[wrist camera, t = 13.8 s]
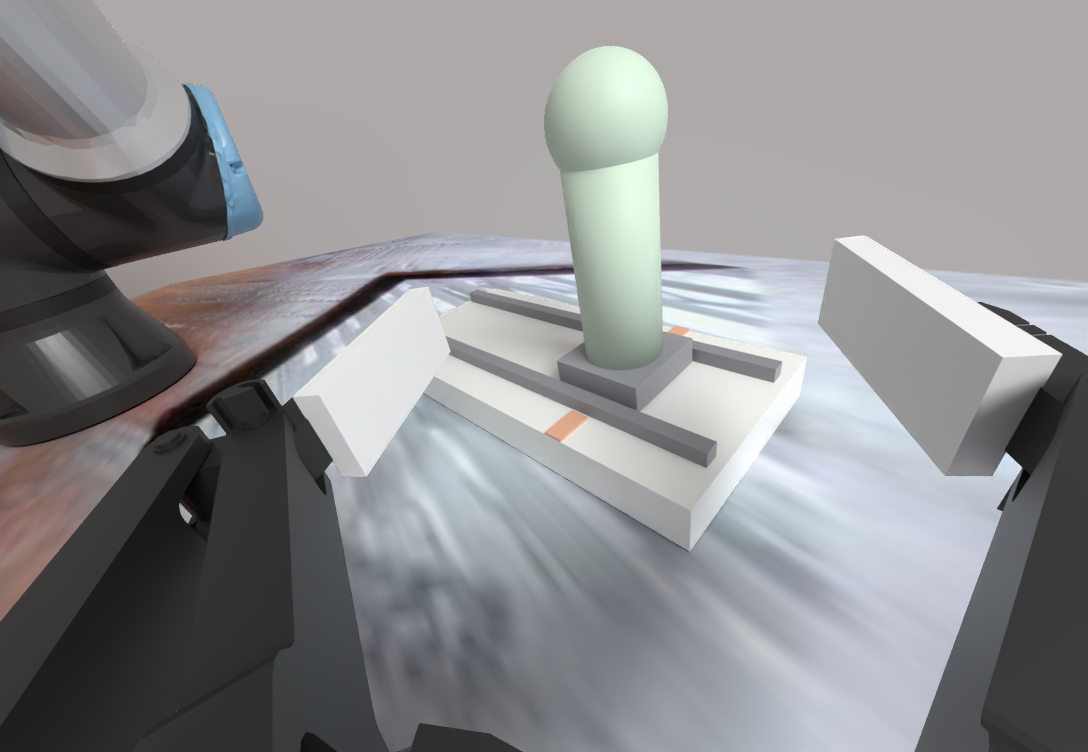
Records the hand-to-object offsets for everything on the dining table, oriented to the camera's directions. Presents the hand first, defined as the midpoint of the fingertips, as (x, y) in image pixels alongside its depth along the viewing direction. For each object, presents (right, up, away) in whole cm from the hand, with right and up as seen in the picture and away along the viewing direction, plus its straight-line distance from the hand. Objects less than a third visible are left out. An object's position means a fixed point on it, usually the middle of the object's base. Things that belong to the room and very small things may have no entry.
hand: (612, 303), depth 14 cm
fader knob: (+2, -2, +9) cm, 9 cm away
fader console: (-2, -3, +14) cm, 14 cm away
